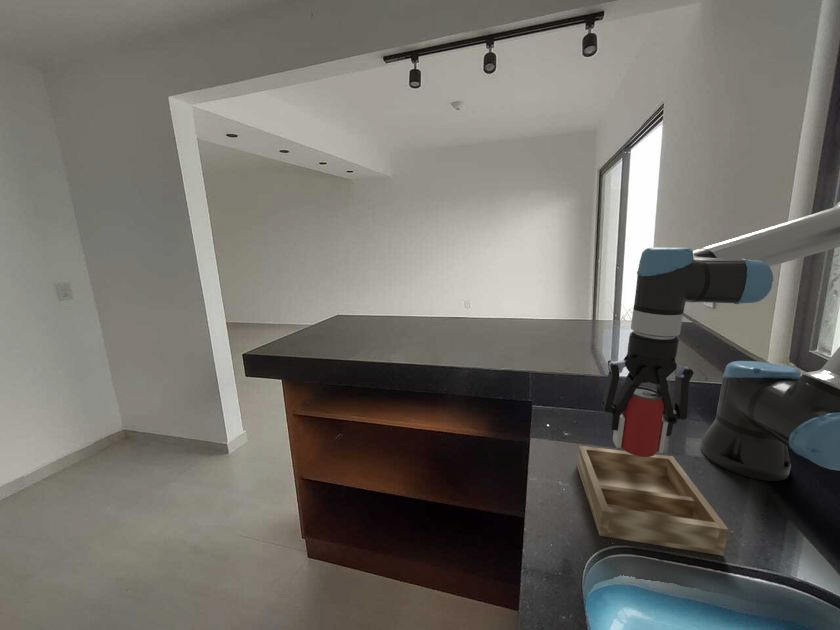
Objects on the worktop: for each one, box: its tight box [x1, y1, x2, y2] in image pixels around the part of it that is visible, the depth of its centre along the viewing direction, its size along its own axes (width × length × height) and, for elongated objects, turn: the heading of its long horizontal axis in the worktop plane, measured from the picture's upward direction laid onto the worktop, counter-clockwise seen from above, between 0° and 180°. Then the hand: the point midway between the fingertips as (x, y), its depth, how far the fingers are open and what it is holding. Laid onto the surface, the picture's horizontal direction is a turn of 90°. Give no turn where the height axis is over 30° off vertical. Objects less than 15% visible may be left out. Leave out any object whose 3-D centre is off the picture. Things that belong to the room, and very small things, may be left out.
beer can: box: [620, 386, 664, 457], centre depth 68 cm, size 7×7×12 cm
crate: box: [576, 445, 729, 557], centre depth 68 cm, size 18×19×5 cm
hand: (637, 446), depth 69 cm, fingers closed on beer can, 7 cm apart
